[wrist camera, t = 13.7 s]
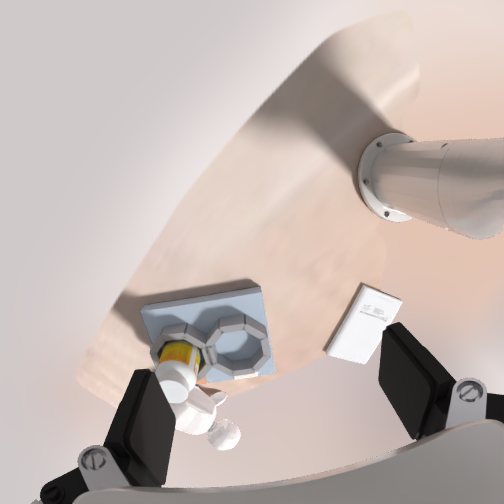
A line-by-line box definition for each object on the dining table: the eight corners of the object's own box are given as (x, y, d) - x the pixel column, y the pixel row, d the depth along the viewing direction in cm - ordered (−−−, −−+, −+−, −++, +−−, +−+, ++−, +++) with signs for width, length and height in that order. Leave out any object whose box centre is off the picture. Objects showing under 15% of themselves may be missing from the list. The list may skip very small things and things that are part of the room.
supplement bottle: (208, 353, 40) (203, 398, 31) (181, 368, 41) (171, 412, 32) (184, 327, 39) (172, 369, 30) (157, 344, 40) (141, 386, 30)
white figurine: (168, 390, 49) (232, 438, 46) (143, 412, 40) (216, 466, 38) (187, 362, 47) (258, 414, 44) (162, 384, 39) (243, 444, 36)
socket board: (260, 286, 40) (263, 300, 36) (274, 365, 44) (277, 383, 40) (144, 305, 40) (135, 320, 36) (171, 378, 44) (167, 396, 40)
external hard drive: (324, 349, 45) (361, 282, 42) (362, 359, 46) (399, 298, 43) (326, 355, 43) (365, 287, 40) (366, 364, 44) (404, 302, 41)
